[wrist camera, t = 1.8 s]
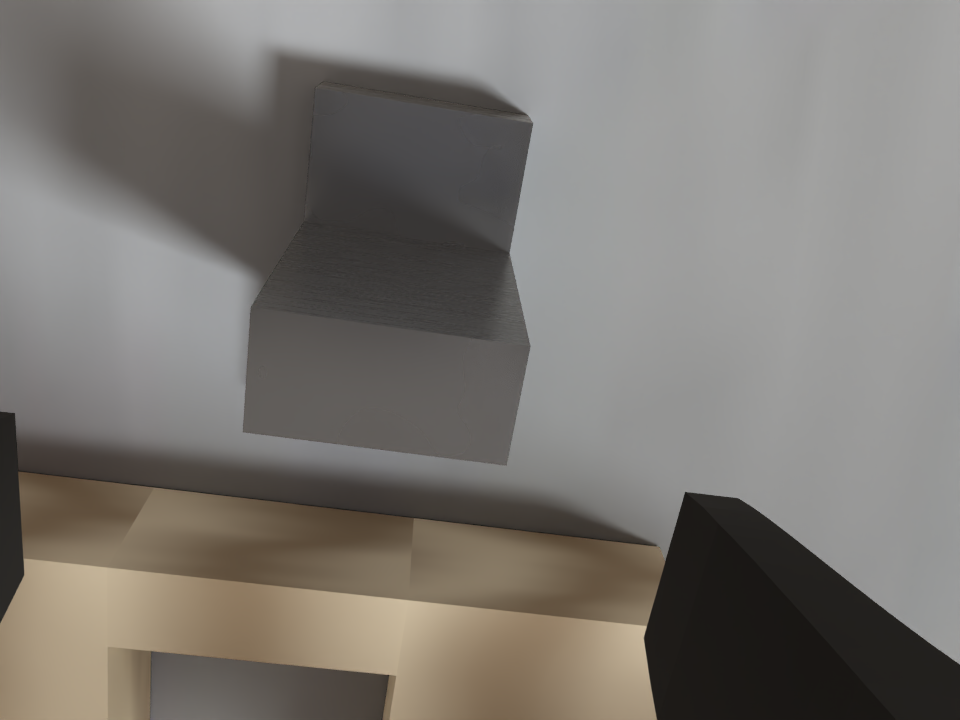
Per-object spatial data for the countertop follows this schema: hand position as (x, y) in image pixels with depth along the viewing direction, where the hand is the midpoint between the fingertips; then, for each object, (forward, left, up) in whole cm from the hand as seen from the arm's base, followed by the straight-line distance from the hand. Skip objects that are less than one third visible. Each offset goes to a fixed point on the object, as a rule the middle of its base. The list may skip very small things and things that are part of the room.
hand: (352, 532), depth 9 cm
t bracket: (0, 0, -10) cm, 10 cm away
